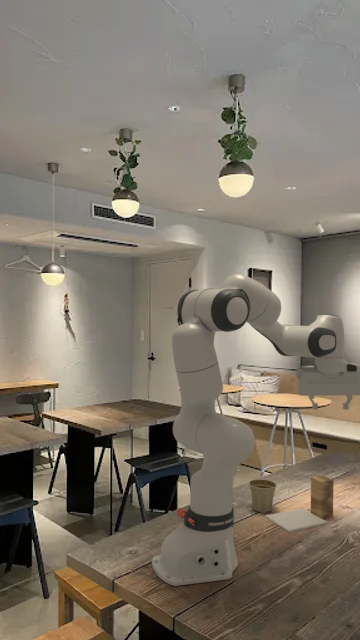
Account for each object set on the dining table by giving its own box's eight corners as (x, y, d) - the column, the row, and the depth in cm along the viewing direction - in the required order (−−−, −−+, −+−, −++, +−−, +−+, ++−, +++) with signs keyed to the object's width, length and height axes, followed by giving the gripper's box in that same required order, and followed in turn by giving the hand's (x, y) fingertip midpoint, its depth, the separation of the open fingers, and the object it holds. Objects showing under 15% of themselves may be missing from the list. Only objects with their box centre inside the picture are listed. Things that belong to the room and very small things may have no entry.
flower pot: (268, 502, 169) (268, 477, 169) (281, 513, 160) (282, 486, 160) (243, 505, 166) (243, 480, 166) (256, 516, 157) (256, 489, 157)
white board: (288, 532, 145) (288, 530, 145) (265, 517, 156) (265, 515, 156) (327, 523, 151) (327, 521, 151) (302, 509, 162) (302, 508, 162)
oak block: (321, 519, 155) (321, 482, 155) (310, 513, 159) (311, 477, 159) (333, 516, 157) (334, 479, 157) (323, 511, 162) (323, 475, 162)
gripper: (297, 367, 150) (298, 411, 151) (365, 366, 148) (366, 411, 149) (294, 364, 157) (295, 407, 157) (360, 364, 154) (360, 407, 155)
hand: (330, 409), depth 153 cm, fingers open, 8 cm apart
